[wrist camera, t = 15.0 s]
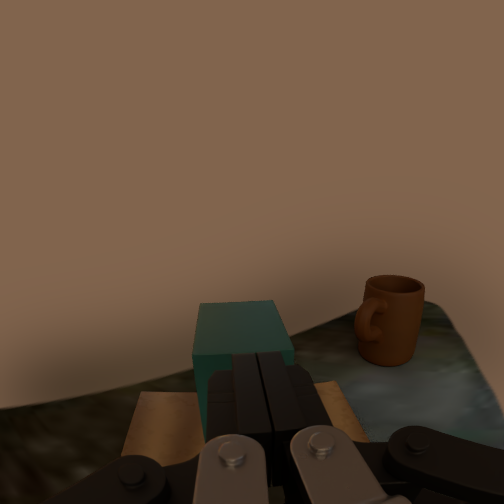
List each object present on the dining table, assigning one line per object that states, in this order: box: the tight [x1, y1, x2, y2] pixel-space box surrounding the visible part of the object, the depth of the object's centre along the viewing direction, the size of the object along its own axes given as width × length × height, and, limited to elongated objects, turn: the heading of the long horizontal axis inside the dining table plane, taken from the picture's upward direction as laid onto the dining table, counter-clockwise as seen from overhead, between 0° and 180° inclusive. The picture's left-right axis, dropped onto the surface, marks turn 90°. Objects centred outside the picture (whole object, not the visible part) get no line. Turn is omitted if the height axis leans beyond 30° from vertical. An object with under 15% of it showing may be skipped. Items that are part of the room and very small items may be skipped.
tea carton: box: [192, 300, 294, 443], centre depth 21 cm, size 6×11×8 cm
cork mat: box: [121, 381, 370, 467], centre depth 24 cm, size 20×10×1 cm, turn 95°
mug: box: [354, 275, 425, 366], centre depth 34 cm, size 12×8×9 cm, turn 129°
